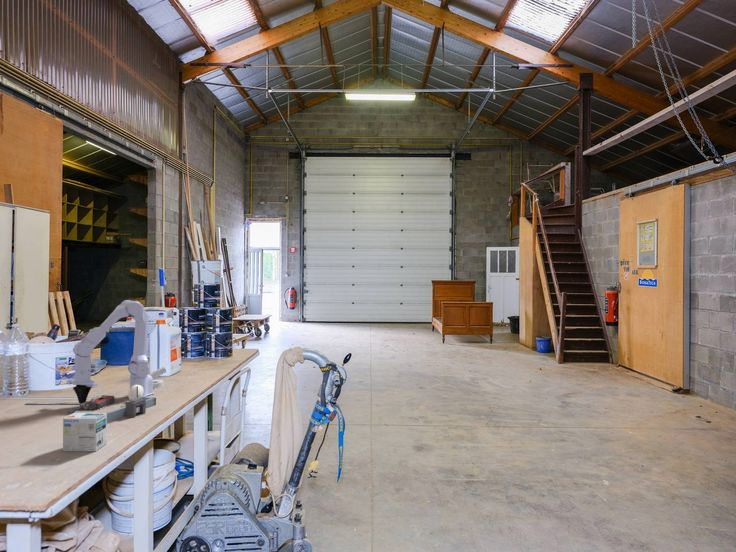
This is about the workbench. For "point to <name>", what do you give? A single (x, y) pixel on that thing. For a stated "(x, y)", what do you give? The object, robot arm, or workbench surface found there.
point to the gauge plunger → (136, 408)
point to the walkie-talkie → (96, 403)
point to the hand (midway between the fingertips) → (82, 402)
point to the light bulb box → (84, 431)
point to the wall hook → (155, 374)
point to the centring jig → (131, 404)
